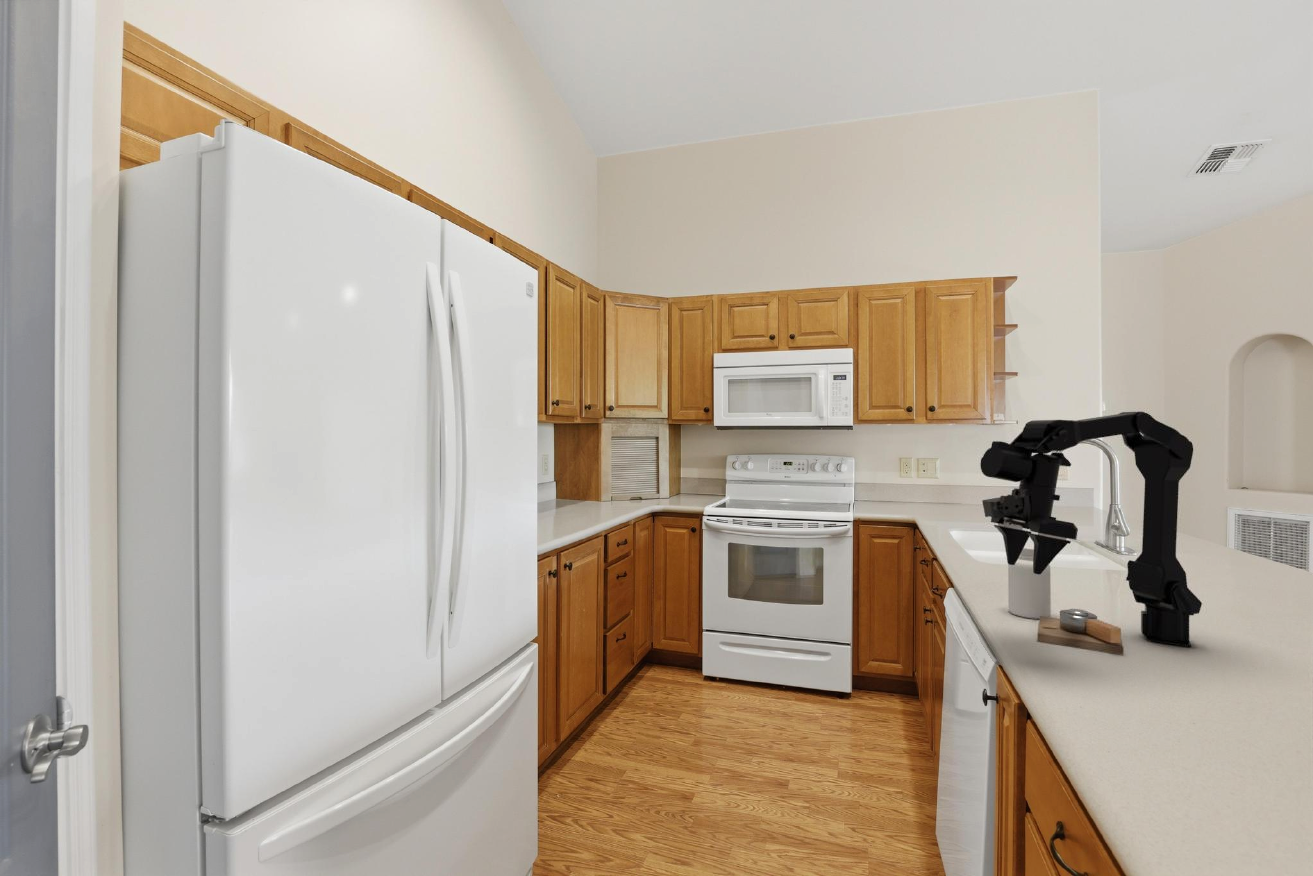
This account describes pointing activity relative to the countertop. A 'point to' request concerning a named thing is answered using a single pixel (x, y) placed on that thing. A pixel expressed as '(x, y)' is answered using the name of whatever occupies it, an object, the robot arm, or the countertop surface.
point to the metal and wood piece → (1089, 625)
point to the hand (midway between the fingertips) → (1023, 569)
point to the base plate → (1073, 637)
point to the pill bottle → (1028, 587)
